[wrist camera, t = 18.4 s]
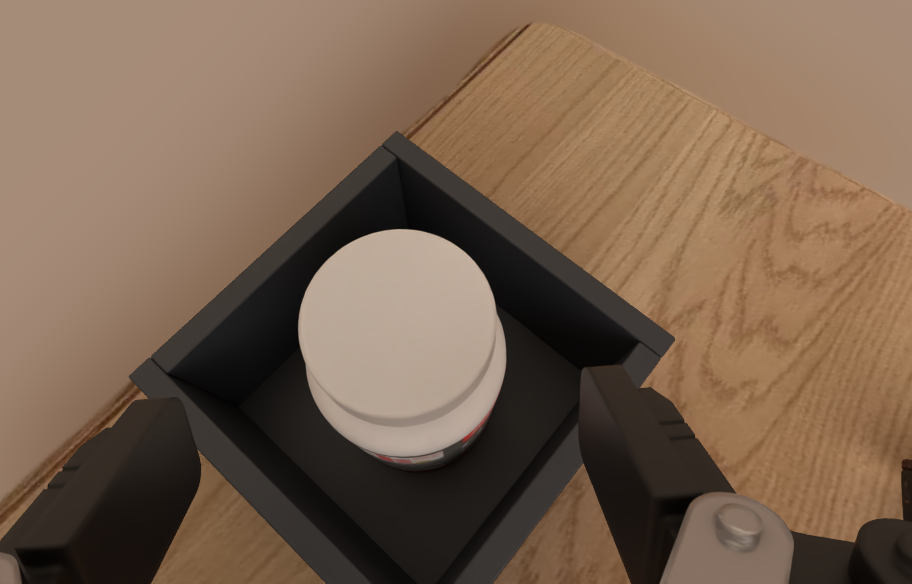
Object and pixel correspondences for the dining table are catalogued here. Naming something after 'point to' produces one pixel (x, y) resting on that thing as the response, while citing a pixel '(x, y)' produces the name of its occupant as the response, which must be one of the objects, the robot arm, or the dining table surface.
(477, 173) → the dining table surface
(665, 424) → the robot arm
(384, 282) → the pill bottle
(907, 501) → the eyeglasses
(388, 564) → the dark grey open box
